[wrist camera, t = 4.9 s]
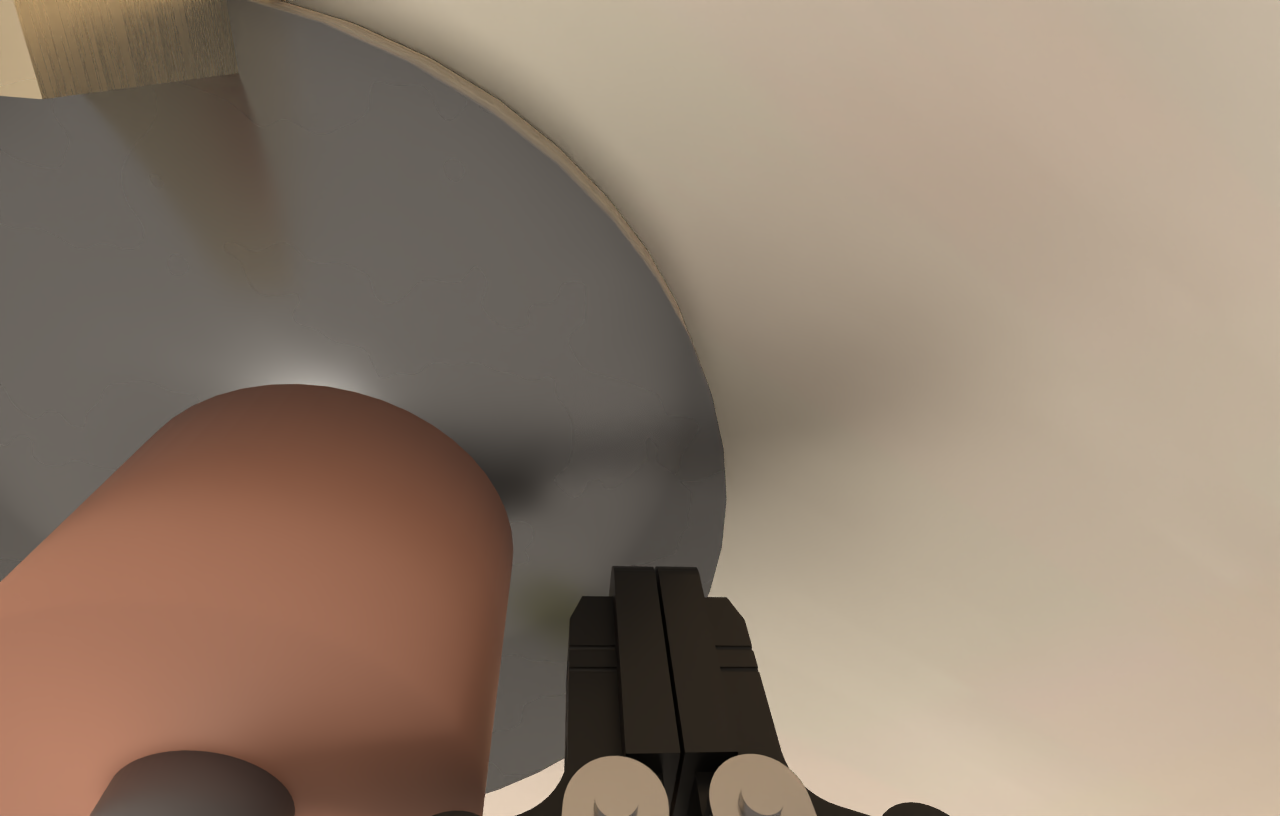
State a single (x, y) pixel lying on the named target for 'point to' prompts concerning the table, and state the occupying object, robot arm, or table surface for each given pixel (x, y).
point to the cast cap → (262, 622)
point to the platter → (338, 292)
